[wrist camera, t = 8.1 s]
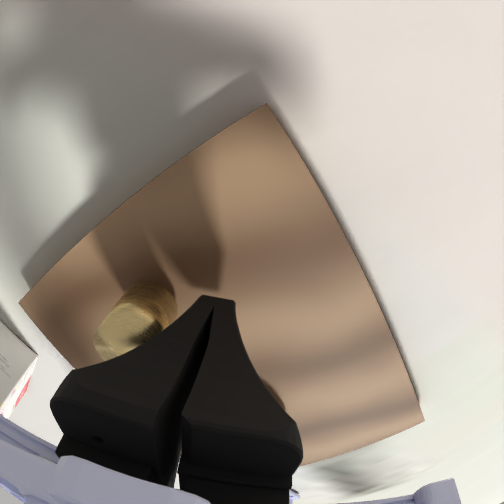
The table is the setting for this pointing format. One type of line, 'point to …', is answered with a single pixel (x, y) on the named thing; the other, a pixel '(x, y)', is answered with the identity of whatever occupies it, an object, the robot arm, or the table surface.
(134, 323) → the crank handle
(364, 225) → the table surface
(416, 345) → the table surface
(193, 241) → the board
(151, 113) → the table surface
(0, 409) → the ink cartridge box
